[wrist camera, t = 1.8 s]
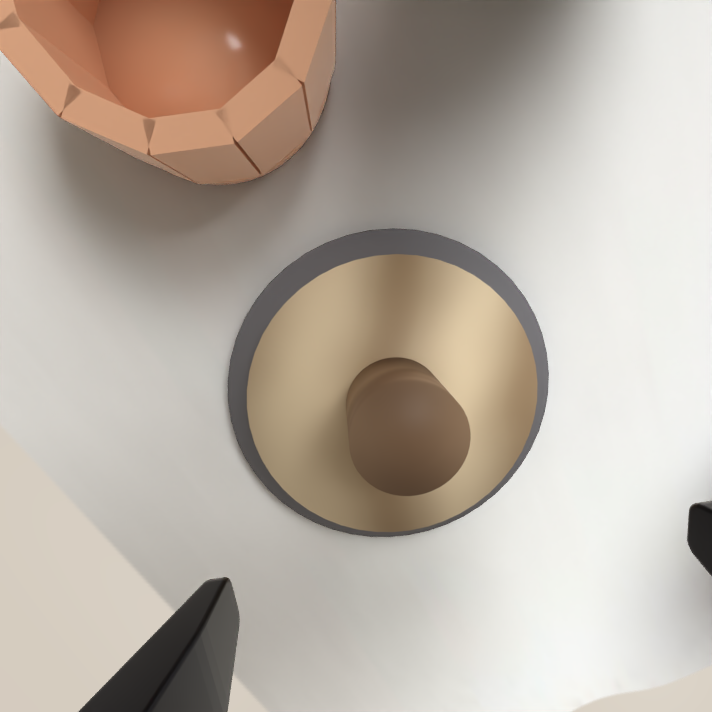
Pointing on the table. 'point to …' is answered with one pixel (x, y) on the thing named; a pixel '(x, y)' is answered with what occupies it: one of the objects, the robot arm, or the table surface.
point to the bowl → (181, 76)
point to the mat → (343, 253)
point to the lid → (392, 393)
